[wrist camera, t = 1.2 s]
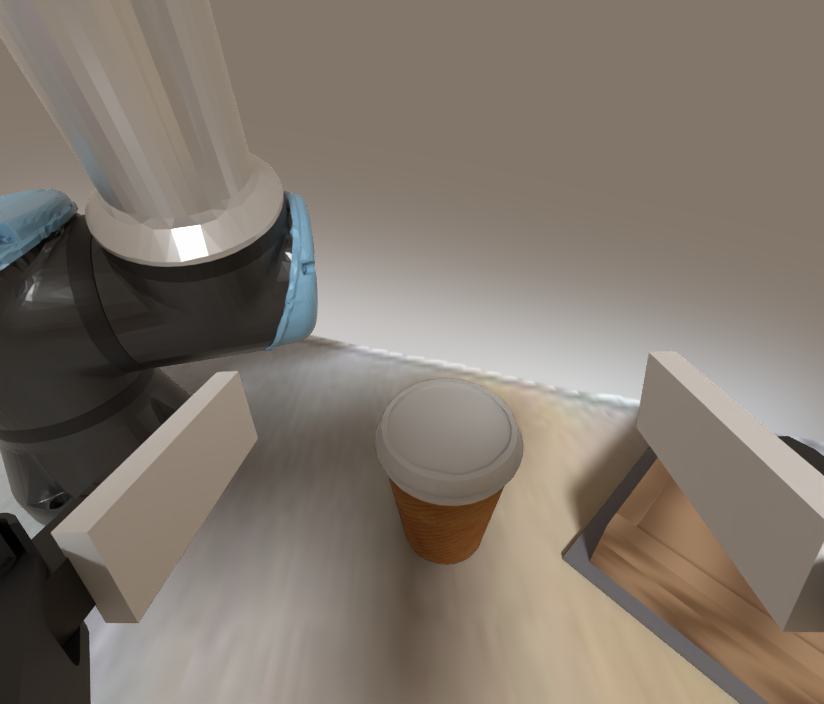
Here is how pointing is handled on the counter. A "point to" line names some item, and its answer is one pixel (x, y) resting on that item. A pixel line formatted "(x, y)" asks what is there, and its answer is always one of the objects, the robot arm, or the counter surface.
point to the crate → (705, 592)
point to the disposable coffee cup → (447, 463)
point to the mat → (580, 560)
